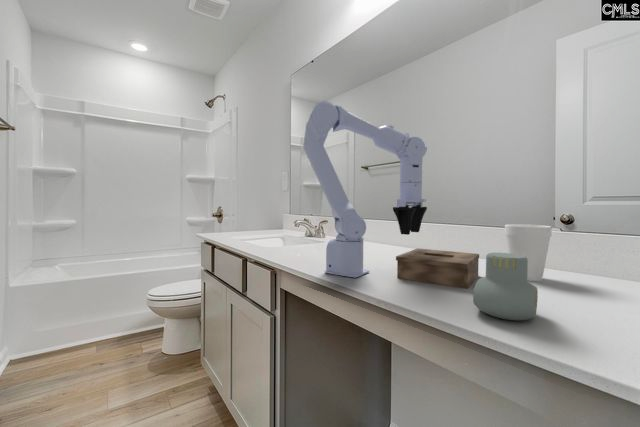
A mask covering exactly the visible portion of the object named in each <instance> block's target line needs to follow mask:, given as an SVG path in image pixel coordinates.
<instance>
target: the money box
mask: <svg viewBox="0 0 640 427" xmlns="http://www.w3.org/2000/svg"><path fill="white" fill-rule="evenodd" d="M479 259H480V253H471V252H464V251H463V252H462V251H451V250H439V249H428V248H415V249H411V250H409V251H406V252H404V253H401V254H398V255H396V256H395V261H397V264H396V265H397V266H396V267H397V270H396V271H397V273H396V274H397V276H396V278H397V279H404V280H410V281H417V282H422V283H423V282H424V283H431V284H436V285H442V286H448V287H449V286H450V287H456V288H461V289H462V288H463V289H469V288H470V286H471V285H472V284H473V283H474V281H476V279H477V278H478V277H479Z"/></svg>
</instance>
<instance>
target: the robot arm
mask: <svg viewBox="0 0 640 427" xmlns="http://www.w3.org/2000/svg"><path fill="white" fill-rule="evenodd" d="M305 124H306V125H305V131H304V139H303V145H302V146H303V150H304V153H305V154H306V157H307V159H308V162H309V163H310V166H311V168H312V170H313V172H314V174H315V176H316V178H317V180H318V183H319V185H320V187H321V189H322V192H323V193H324V196H325V198H326V200H327V202H328V204H329V207H330V209H331V213H332V217H333V220H334V230H335V231H336V233H337V235H336V237H335V238H332V239H330V240H329V241H328V242H327V244H326V250H325V252H326V255H325V260H326V261H325V262H326V264H325V265H326V266H325V267H326V268H325V270H324V273H325V274H330V275H336V276H344V277H348V278H349V277H350V278H358V277H361V276H363V275H365V274H368V273H370V270H369V269H364V235H365V234H366V231H367V225H366V221H365V219H364V218H363V217H362V216H361V215H359V214H358V213H357V211H356V208H355V207H354V206H353V204H352V203H351V202H350V200H349V199H348V196H347V193H346V192H345V190H344V187H343V185H342V183H341V180H340V179H339V177H338V174H337V172H336V170H335V168H334V166H333V163H332V161H331V158H330V157H329V155H328V153H327V150H326V148H325V146H324V144H325V143H326V140H327V137H328V135H329V132H330V131H331V129H332V132H333V133H335V132H339V131H343V130H347V131H350V132H353V133H355V134H358V135H359V136H360V135H361V136H362V137H365V138H368V139H370V140H372V141H373V143H374V145H375V146H376V147H378V148H380V149H382V150H383V151H384V150H385V151H387V152H389V153H392V154H393V155H395V156H397V158H398V159H399V198H397V199H396V206H393V207H392V211H393V213H394V215H395V217H396V220H397V223H398V227H399V232H400V234H401V235H405V236H406V235H410V233H419V232H420V231H421V230H420V229H421V227H422V226H421V225H422V222H423V218H424V216H425V213H426V212H427V209H428V207H427V206H424V205H423V204H424V203H426V202H427V199H425V198H424V199H423V197H422V196H423V195H422V194H423V158H424V157H425V155H426V154H427V150H428V148H427V146H426V145H425V144H426V143H425V142H424V141H423V139H422V138H420V137H418V136H411V137H410V134H409V133H403V132H401V131H399V130H396V129H394V126H393V125H391V124H389V125H382V126H380V127H378V126H377V125H374V124H373V123H371V122H369V121H367V120H365V119H364V118H361V117H359V116H357V115H355V114H354V113H351V112H349V111H348V110H347V109H345V108H344V107H342V106H341V105H338V104H337V105H336V104H333V102H330V101H327V100H326V101H319V102H317V103H316V104H315V106H314V107H313V110H312V112H311V113H310V115H309V118H308V121H307V122H306V123H305Z"/></svg>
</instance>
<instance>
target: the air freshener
mask: <svg viewBox="0 0 640 427" xmlns="http://www.w3.org/2000/svg"><path fill="white" fill-rule="evenodd" d="M485 257H486V258H485V259H486V260H485V277H482V278H478V280H476V282H475V284H474V288H473V293H472V294H473V295H472V301H473V305H474V306H475V307H476V308H477V309H479V310H480V311H482V312H483V313H485V314H487V315H489V316H491V317H494V318H497V319H501V320H508V321H518V322H519V321H521V322H523V321H526V320H531V319H534V318H535V317H536V315H537V311H538V310H537V308H538V287H537V286H536V285H534V284H532V283H531V282H529V281H527V270H528V259H527V258H526V257H525V256H523V255H518V254H511V253H508V252H490V253H487V254H486V256H485Z"/></svg>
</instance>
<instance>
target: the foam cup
mask: <svg viewBox="0 0 640 427" xmlns="http://www.w3.org/2000/svg"><path fill="white" fill-rule="evenodd" d="M504 235H505V236H506V237H505V238H506V239H505V240H506V247H507V253H511V254H518V255H523V256H525V257H526V258H527V259H528V270H527V281H528V282H529V281H530V282H541V281H542V280H543V277H544V272H545V267H546V261H547V256H548V249H549V246H550V240H551V237H552V226H551V225H540V224H505V225H504Z"/></svg>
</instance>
